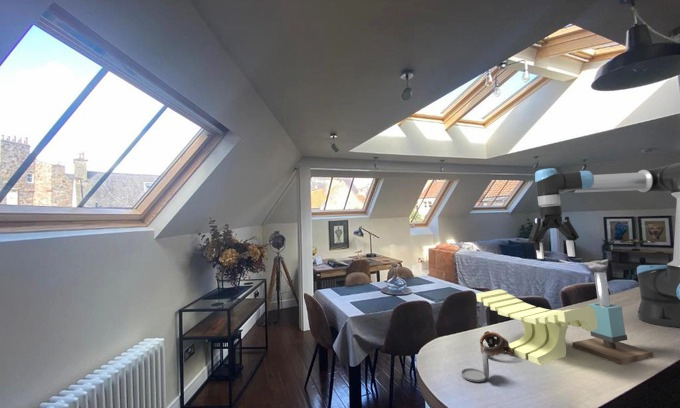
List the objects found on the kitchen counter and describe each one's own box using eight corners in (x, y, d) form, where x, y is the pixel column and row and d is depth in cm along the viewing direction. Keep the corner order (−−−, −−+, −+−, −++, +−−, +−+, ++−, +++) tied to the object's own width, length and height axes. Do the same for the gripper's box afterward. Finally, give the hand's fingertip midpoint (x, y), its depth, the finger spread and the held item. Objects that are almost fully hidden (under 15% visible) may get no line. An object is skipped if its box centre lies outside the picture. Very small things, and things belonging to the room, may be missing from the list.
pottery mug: (522, 361, 92) (511, 341, 91) (495, 375, 92) (484, 355, 91) (500, 338, 104) (491, 320, 102) (477, 350, 104) (467, 332, 103)
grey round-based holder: (457, 372, 86) (454, 338, 87) (483, 370, 87) (480, 336, 88) (471, 387, 78) (468, 349, 79) (501, 384, 79) (497, 346, 80)
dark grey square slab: (604, 333, 98) (604, 328, 99) (627, 339, 92) (626, 334, 92) (591, 335, 97) (590, 331, 97) (613, 342, 91) (612, 337, 91)
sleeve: (604, 328, 98) (600, 302, 99) (625, 334, 93) (621, 306, 93) (591, 331, 97) (587, 304, 98) (612, 337, 91) (608, 308, 92)
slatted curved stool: (602, 363, 87) (594, 303, 88) (572, 377, 80) (564, 312, 82) (509, 333, 114) (504, 288, 116) (481, 342, 107) (476, 293, 109)
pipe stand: (602, 340, 103) (592, 268, 105) (653, 356, 89) (640, 273, 92) (572, 346, 99) (563, 272, 102) (620, 364, 86) (608, 278, 88)
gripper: (569, 205, 124) (576, 254, 122) (515, 208, 122) (521, 258, 120) (585, 203, 116) (593, 256, 114) (528, 206, 114) (534, 260, 112)
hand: (556, 257), depth 117 cm, fingers open, 13 cm apart
